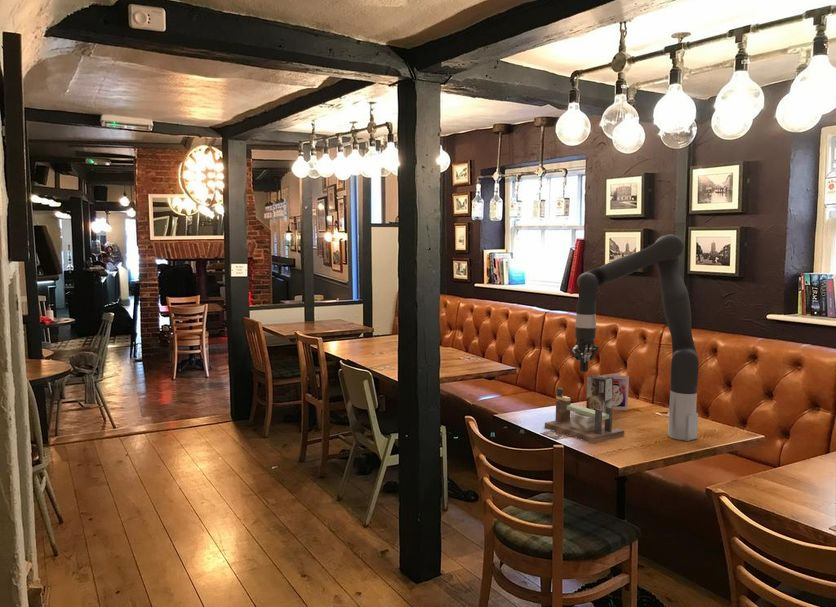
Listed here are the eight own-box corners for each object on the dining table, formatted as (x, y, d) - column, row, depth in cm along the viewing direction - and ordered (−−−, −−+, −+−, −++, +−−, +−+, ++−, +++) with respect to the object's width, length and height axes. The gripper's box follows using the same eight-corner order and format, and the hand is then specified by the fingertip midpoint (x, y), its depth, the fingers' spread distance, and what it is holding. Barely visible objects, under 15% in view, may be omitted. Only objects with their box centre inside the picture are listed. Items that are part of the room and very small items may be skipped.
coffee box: (612, 415, 276) (614, 377, 275) (604, 418, 272) (606, 379, 270) (593, 411, 283) (594, 374, 281) (585, 413, 279) (586, 376, 277)
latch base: (624, 435, 248) (625, 406, 247) (594, 443, 238) (595, 413, 237) (574, 421, 267) (575, 394, 266) (544, 427, 257) (545, 399, 256)
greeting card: (601, 409, 285) (602, 375, 284) (597, 405, 293) (598, 372, 291) (628, 410, 285) (629, 376, 283) (623, 406, 292) (625, 372, 291)
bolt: (570, 400, 259) (570, 390, 258) (566, 401, 257) (566, 390, 257) (559, 397, 263) (559, 387, 263) (555, 398, 262) (555, 388, 261)
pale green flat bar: (609, 418, 245) (609, 414, 245) (602, 420, 242) (602, 416, 242) (573, 408, 258) (573, 404, 258) (566, 409, 256) (566, 405, 256)
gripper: (580, 328, 242) (579, 375, 244) (605, 326, 250) (603, 371, 251) (565, 325, 249) (564, 371, 250) (590, 323, 256) (588, 368, 257)
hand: (583, 371), depth 251 cm, fingers closed
